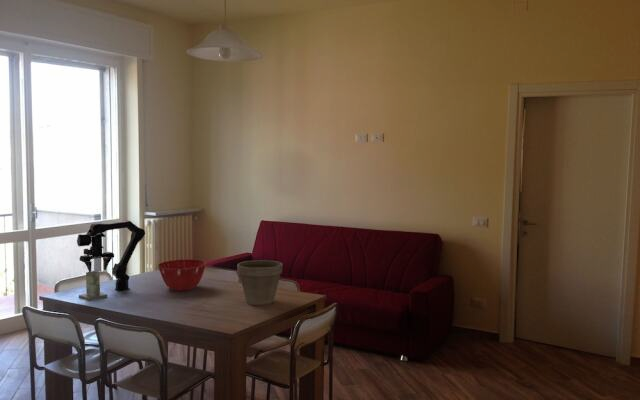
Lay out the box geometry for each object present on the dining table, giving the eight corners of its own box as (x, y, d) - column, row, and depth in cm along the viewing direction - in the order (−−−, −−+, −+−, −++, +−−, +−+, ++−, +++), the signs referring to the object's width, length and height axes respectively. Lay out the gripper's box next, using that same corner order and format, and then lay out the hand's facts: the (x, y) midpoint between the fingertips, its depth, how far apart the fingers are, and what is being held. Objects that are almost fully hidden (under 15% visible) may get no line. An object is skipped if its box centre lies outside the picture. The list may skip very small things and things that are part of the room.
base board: (97, 294, 321) (96, 291, 320) (107, 297, 314) (107, 294, 314) (78, 297, 312) (78, 295, 312) (89, 301, 305) (89, 298, 305)
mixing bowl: (183, 296, 317) (183, 269, 316) (148, 290, 331) (147, 264, 330) (215, 286, 341) (215, 262, 340) (181, 281, 355) (181, 257, 354)
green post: (93, 293, 316) (93, 270, 315) (100, 294, 314) (99, 271, 313) (86, 295, 312) (86, 272, 311) (92, 296, 309) (92, 273, 308)
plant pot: (254, 294, 322) (254, 257, 320) (290, 299, 310) (290, 261, 309) (228, 304, 300) (228, 265, 298) (266, 310, 288) (266, 269, 287)
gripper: (104, 241, 333) (104, 267, 334) (74, 245, 318) (75, 272, 319) (114, 243, 326) (115, 269, 327) (84, 247, 311) (85, 274, 312)
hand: (97, 271), depth 322 cm, fingers open, 9 cm apart
